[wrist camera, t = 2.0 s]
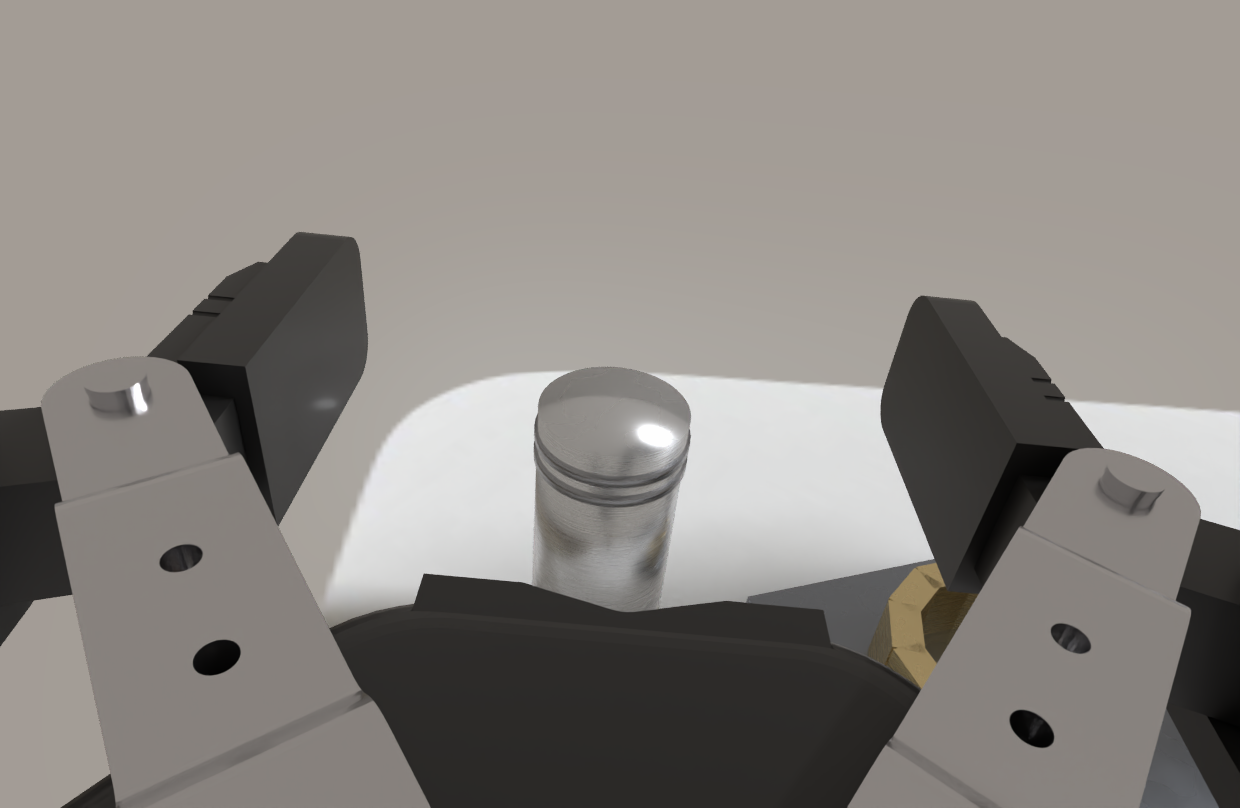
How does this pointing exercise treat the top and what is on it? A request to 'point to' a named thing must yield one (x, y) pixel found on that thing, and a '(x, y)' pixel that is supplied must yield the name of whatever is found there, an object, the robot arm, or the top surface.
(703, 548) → the top surface
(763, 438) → the top surface
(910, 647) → the ring base
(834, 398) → the top surface
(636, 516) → the piston
